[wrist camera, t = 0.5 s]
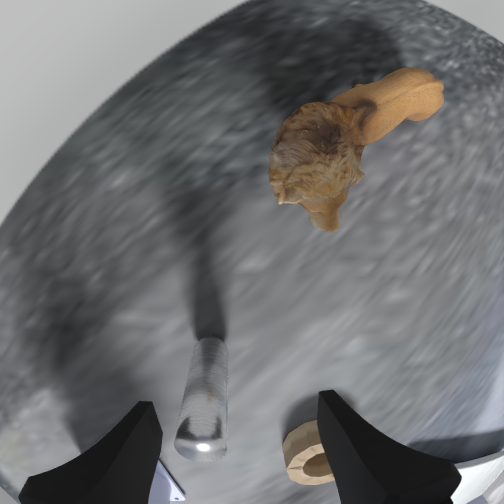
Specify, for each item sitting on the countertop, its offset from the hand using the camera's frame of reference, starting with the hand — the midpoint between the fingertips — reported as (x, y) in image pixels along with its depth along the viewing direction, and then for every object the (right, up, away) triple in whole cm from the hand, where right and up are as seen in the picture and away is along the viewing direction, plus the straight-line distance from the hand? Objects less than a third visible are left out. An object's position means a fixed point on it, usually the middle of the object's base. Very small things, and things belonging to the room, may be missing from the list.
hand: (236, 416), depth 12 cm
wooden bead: (+7, -11, +12) cm, 18 cm away
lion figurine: (+7, +15, +7) cm, 18 cm away
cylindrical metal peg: (-2, 0, +10) cm, 10 cm away
